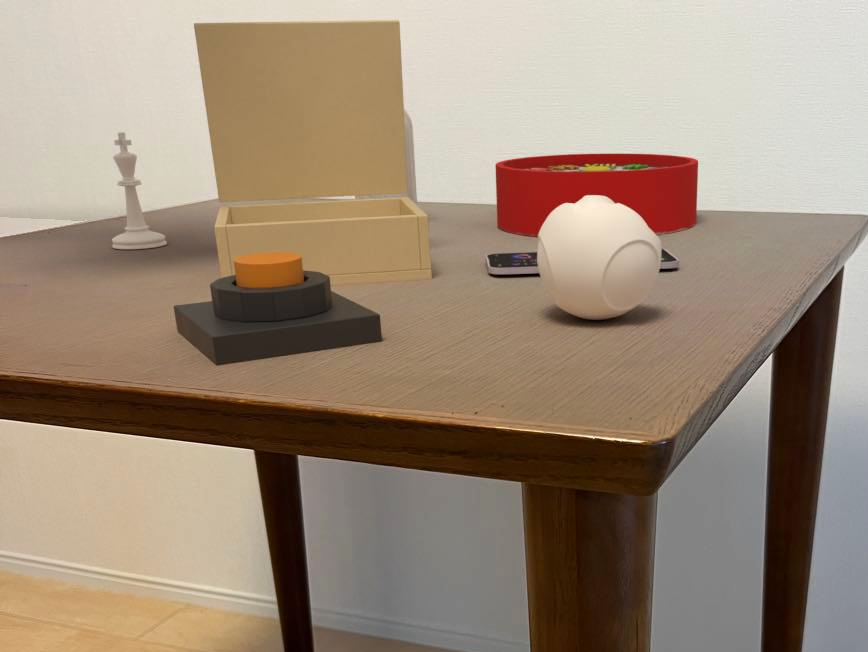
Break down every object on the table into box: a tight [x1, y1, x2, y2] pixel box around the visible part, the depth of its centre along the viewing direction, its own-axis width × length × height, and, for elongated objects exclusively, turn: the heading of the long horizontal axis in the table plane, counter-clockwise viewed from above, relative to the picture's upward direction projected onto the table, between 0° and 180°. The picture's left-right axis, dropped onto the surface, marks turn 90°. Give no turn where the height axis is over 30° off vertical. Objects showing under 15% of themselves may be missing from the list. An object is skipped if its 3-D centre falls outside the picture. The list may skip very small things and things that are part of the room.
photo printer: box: [354, 107, 418, 206], centre depth 111 cm, size 10×4×12 cm, turn 27°
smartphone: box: [485, 247, 680, 275], centre depth 88 cm, size 8×1×15 cm
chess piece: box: [111, 132, 168, 251], centre depth 101 cm, size 5×5×10 cm
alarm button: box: [234, 252, 304, 288], centre depth 66 cm, size 4×4×2 cm
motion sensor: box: [536, 195, 663, 321], centre depth 69 cm, size 8×8×8 cm
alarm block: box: [173, 270, 383, 367], centre depth 67 cm, size 10×10×4 cm
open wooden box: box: [213, 197, 433, 287], centre depth 87 cm, size 13×16×5 cm
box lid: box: [193, 19, 408, 203], centre depth 89 cm, size 13×16×4 cm
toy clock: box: [495, 153, 699, 237], centre depth 109 cm, size 20×6×20 cm
